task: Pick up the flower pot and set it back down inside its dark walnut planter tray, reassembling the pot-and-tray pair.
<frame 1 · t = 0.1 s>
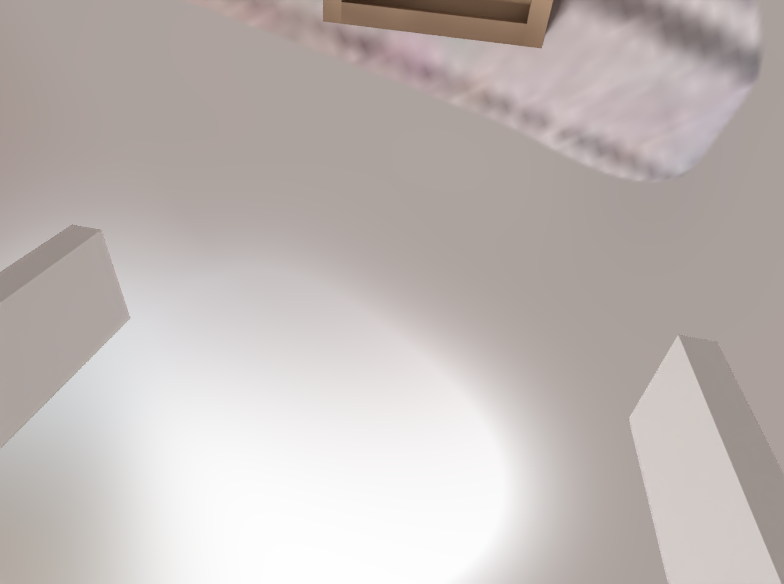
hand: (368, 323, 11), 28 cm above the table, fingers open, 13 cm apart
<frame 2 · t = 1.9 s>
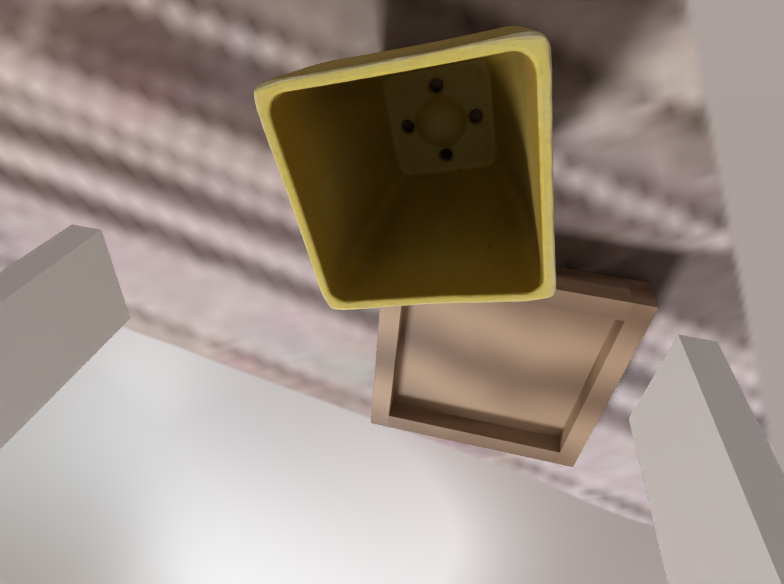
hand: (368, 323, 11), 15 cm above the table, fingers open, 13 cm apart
walnut tray: (491, 350, 31), on the table
flower pot: (445, 116, 23), on the table
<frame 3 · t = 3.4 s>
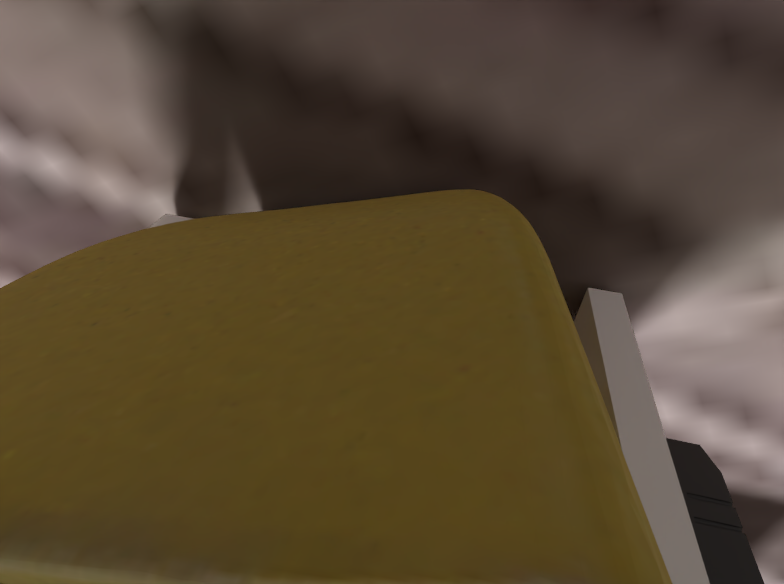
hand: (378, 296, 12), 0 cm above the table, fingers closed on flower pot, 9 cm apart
flower pot: (382, 284, 13), on the table, touching gripper
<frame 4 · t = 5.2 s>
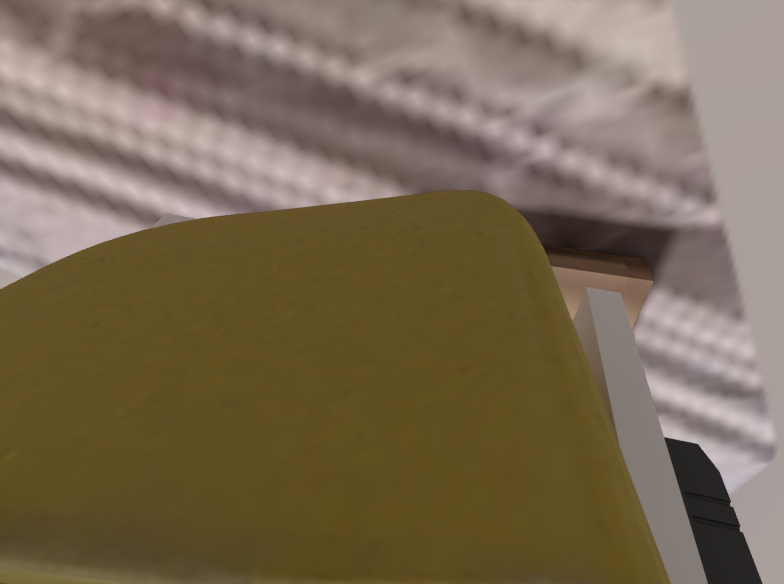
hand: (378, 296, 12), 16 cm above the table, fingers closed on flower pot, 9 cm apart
walnut tray: (496, 331, 32), on the table
flower pot: (382, 284, 13), point 15 cm above the table, touching gripper
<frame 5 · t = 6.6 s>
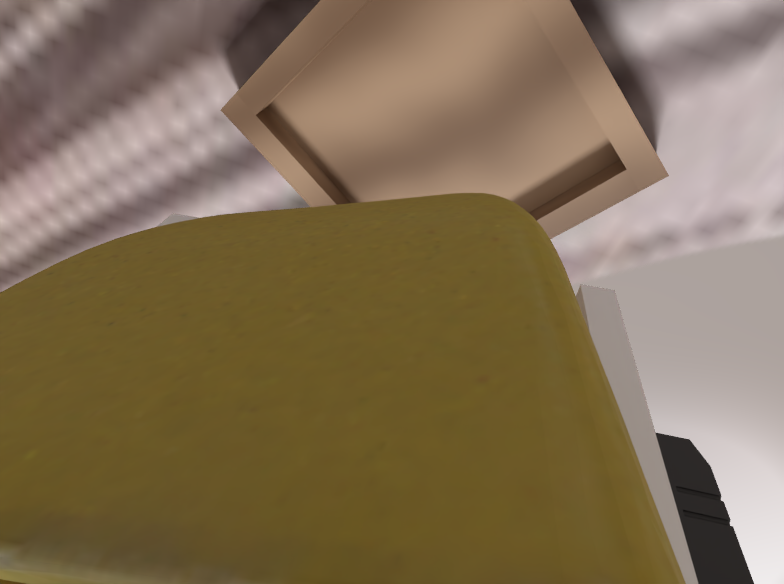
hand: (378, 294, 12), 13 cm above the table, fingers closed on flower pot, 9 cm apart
walnut tray: (439, 125, 23), on the table
flower pot: (390, 284, 13), point 13 cm above the table, touching gripper
when the fingers open (3 cm above the table, at t = 9.2 s): flower pot drops 2 cm, resting on walnut tray.
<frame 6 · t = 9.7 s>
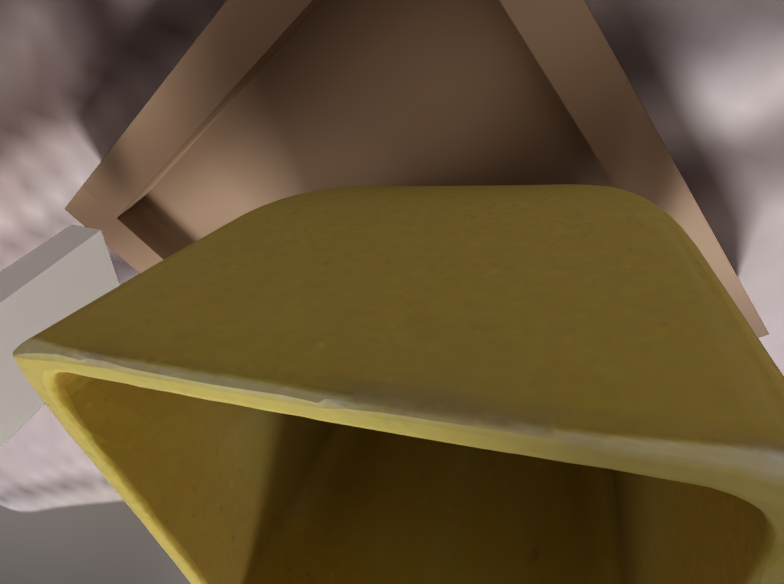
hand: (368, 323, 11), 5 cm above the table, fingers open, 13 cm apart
walnut tray: (402, 228, 15), on the table
flower pot: (487, 262, 14), point 1 cm above the table, touching gripper, walnut tray
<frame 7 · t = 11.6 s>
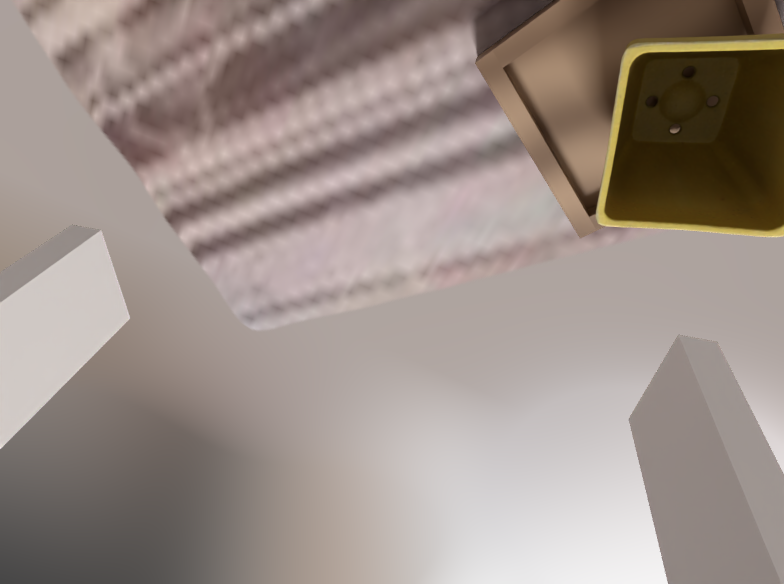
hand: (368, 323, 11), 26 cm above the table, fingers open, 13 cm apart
walnut tray: (633, 85, 30), on the table
flower pot: (683, 98, 29), point 1 cm above the table, touching walnut tray
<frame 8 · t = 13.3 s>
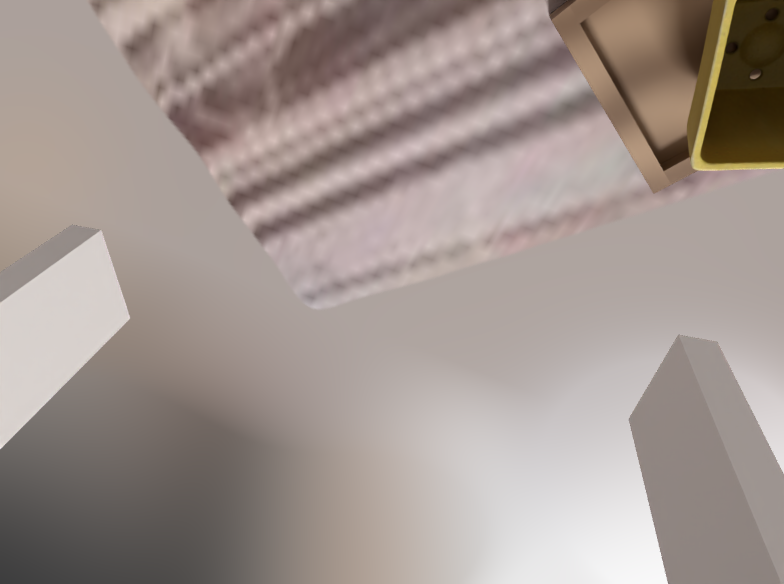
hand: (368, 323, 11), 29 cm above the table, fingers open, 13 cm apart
walnut tray: (709, 33, 30), on the table
flower pot: (764, 42, 29), point 1 cm above the table, touching walnut tray
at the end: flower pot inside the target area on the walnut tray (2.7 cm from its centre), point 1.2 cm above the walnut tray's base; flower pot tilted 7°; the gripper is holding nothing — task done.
